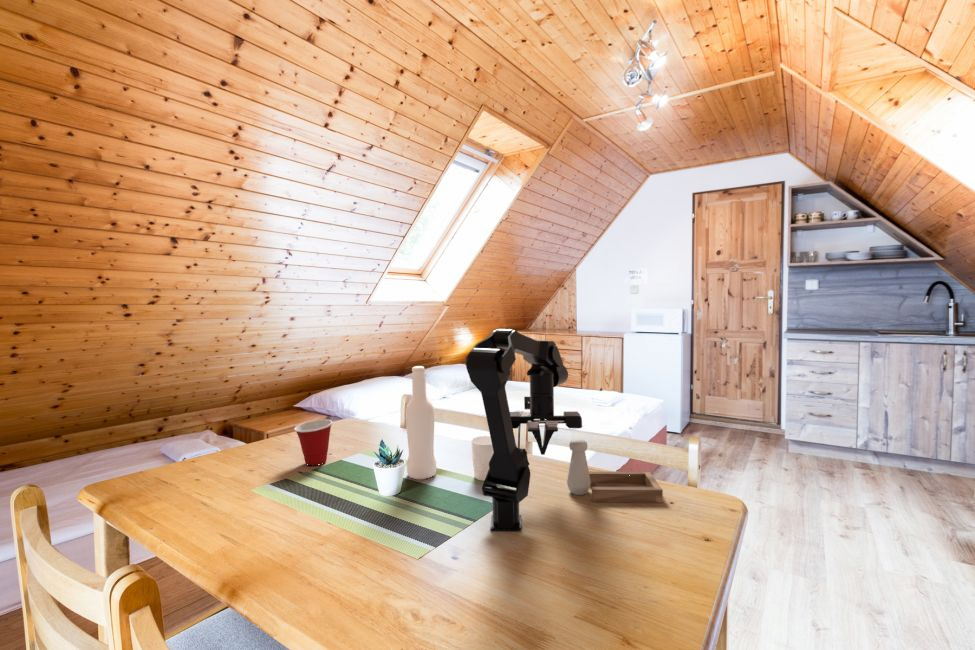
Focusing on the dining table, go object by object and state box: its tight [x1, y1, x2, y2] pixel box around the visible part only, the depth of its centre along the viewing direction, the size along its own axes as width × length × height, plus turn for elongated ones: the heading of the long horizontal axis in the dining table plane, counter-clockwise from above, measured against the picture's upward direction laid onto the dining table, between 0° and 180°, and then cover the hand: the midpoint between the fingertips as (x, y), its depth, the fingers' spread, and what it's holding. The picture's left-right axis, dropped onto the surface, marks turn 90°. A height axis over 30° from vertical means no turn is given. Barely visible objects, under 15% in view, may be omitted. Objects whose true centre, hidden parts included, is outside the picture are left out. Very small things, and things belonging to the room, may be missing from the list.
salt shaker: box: [566, 438, 592, 496], centre depth 120 cm, size 6×6×13 cm
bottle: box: [404, 365, 438, 480], centre depth 133 cm, size 8×8×30 cm
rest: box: [589, 471, 664, 503], centre depth 120 cm, size 12×16×3 cm
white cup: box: [471, 435, 494, 482], centre depth 132 cm, size 8×8×10 cm
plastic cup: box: [293, 419, 333, 465], centre depth 145 cm, size 11×11×12 cm
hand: (542, 454), depth 120 cm, fingers closed
